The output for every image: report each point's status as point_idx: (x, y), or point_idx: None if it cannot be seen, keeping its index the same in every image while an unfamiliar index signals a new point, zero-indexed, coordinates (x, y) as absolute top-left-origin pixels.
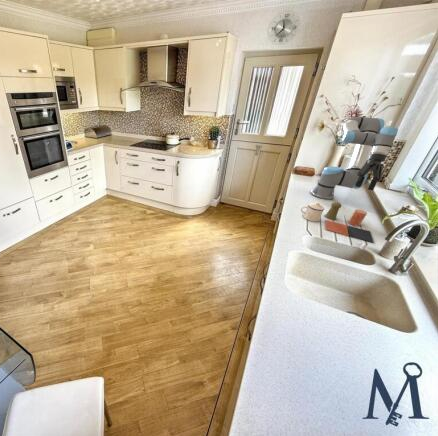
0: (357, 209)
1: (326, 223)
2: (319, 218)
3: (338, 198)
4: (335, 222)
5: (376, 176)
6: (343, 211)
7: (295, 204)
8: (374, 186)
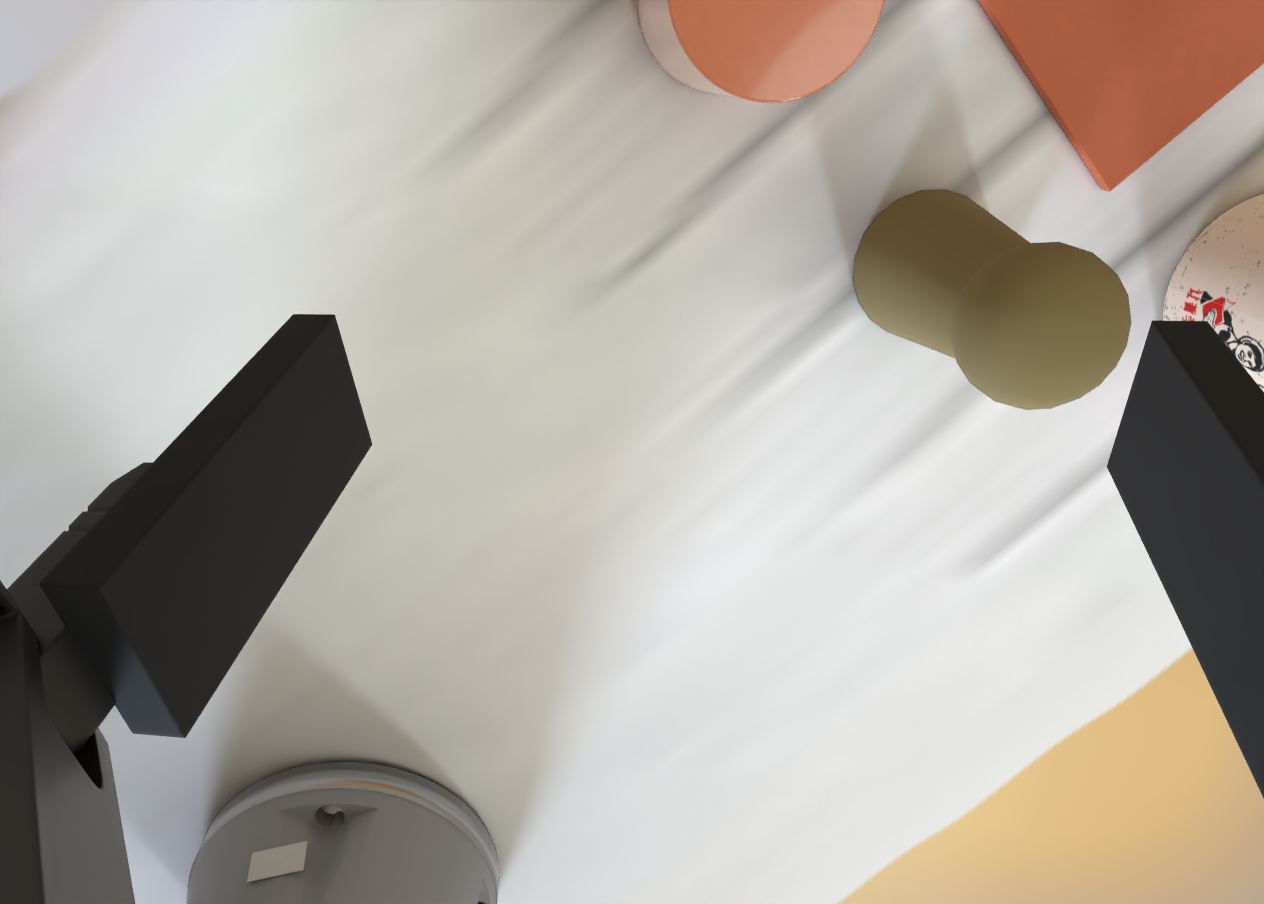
0: (754, 89)
1: (1233, 87)
2: (1262, 211)
3: (143, 775)
4: (1050, 85)
5: (64, 801)
6: (482, 404)
7: (1034, 676)
8: (248, 395)
